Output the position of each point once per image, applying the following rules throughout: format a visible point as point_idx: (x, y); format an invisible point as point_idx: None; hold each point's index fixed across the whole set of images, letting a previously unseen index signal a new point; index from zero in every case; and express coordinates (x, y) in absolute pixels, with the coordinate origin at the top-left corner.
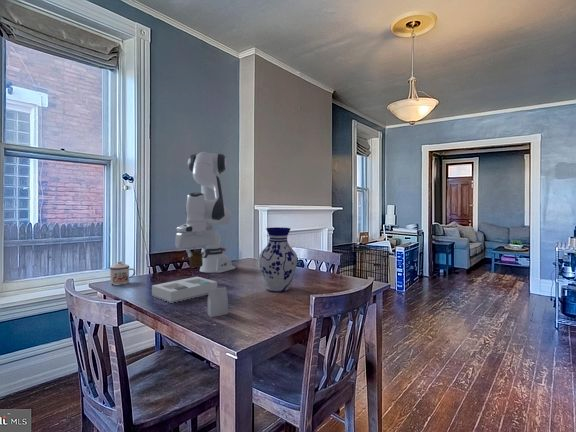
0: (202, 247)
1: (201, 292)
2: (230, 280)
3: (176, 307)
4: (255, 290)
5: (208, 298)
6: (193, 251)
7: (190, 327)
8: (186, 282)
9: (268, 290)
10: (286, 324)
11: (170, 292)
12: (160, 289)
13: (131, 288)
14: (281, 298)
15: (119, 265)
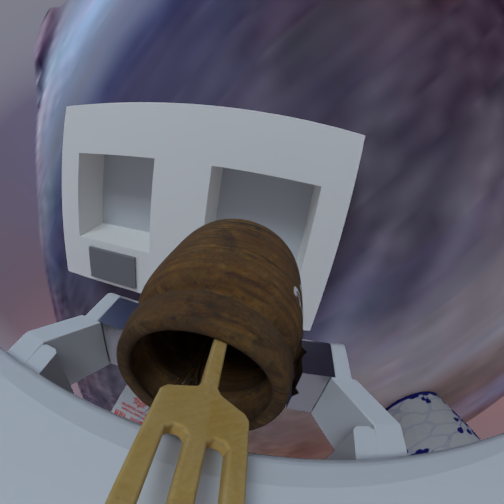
0: (339, 450)
1: None
2: (496, 219)
3: (92, 293)
4: (383, 384)
5: (112, 412)
6: (200, 329)
7: (79, 381)
8: (197, 198)
9: (386, 409)
10: None
11: (69, 267)
12: (65, 187)
13: None
14: (327, 445)
15: None
